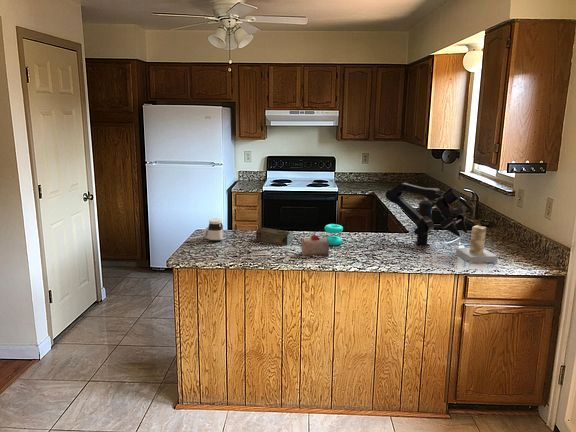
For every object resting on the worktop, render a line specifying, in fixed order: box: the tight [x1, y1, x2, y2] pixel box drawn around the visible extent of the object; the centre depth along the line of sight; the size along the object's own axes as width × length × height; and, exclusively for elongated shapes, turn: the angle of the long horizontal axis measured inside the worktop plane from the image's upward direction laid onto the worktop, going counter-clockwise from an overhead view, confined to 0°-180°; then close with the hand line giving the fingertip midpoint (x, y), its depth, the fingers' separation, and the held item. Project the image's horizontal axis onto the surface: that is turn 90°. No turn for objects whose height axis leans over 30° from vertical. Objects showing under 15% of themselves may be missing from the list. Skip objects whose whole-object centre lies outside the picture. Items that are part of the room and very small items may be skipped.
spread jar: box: [202, 218, 224, 243], centre depth 252 cm, size 12×11×12 cm
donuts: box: [324, 223, 344, 246], centre depth 250 cm, size 10×10×10 cm
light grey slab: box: [455, 247, 498, 264], centre depth 231 cm, size 14×14×3 cm
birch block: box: [469, 224, 487, 254], centre depth 229 cm, size 5×5×13 cm
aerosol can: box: [416, 197, 433, 229], centre depth 280 cm, size 8×8×20 cm
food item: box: [300, 234, 330, 257], centre depth 231 cm, size 14×8×10 cm, turn 97°
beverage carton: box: [255, 227, 294, 246], centre depth 252 cm, size 8×19×7 cm, turn 68°
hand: (463, 234), depth 233 cm, fingers open, 9 cm apart
